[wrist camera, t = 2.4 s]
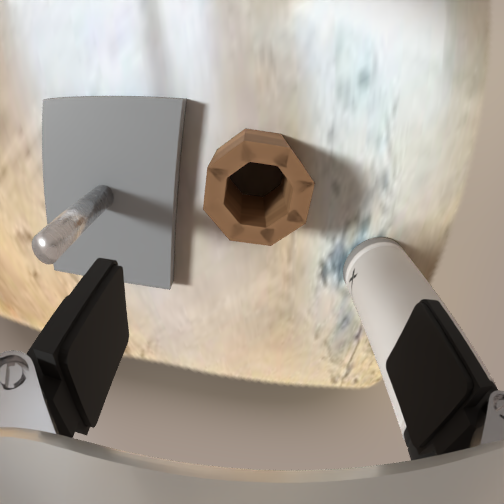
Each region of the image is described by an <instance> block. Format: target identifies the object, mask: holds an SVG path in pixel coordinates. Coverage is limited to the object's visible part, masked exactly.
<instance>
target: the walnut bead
mask: <svg viewBox="0 0 504 504" xmlns="http://www.w3.org/2000/svg"><path fill="white" fill-rule="evenodd" d="M248 162H255V163H262V164H268V165H275V166H278V167H279V168H280V170H281V171H282V173H283V174H282V179H281V184H280V186H278V187H277V188H275V189H274V190H273V191H271V192H270V193H268V194H267V195H265V196H264V197H260V196H253V195H246V194H242V193H241V192H240V190H239V189H238V188H237V187H236V185H235V184H234V183H233V182H232V180H231V179H230V175H232V174H233V173H234V172H236V171H237V170H239V169H240V168H241V167H243V166H244V165H246V164H247V163H248ZM314 184H315V183H314V181H313V180H312V178H311V176H310V175H309V173H308V172H307V170H306V169H305V167H304V166H303V164H302V163H301V161H300V160H299V159H298V157H297V156H296V154H295V153H294V152H293V150H292V149H291V147H290V146H289V145H288V143H287V142H286V141H285V139H284V138H283V136H282V135H281V134H278V133H272V132H265V131H259V130H252V129H244V130H243V131H242V132H240V133H239V134H237V135H236V136H235V137H233V138H232V139H231V140H229V141H228V142H227V143H225V144H224V145H223V146H221V147H220V148H219V149H217V151H216V153H215V154H214V156H213V158H212V160H211V162H210V164H209V165H208V167H207V177H206V186H205V195H204V205H203V210H204V211H205V212H206V213H207V214H208V216H209V217H210V218H211V219H212V220H213V221H214V223H215V224H216V225H217V226H218V227H219V228H220V230H221V231H222V232H223V233H224V234H225V235H226V237H227V238H228V239H229V240H231V241H239V242H246V243H254V244H261V245H269V246H271V245H273V244H274V243H276V242H278V241H279V240H281V239H282V238H284V237H285V236H287V235H288V234H290V233H291V232H293V231H295V230H296V229H298V228H299V227H301V226H302V225H304V224H306V219H307V215H308V211H309V206H310V202H311V198H312V193H313V189H314Z"/></svg>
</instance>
